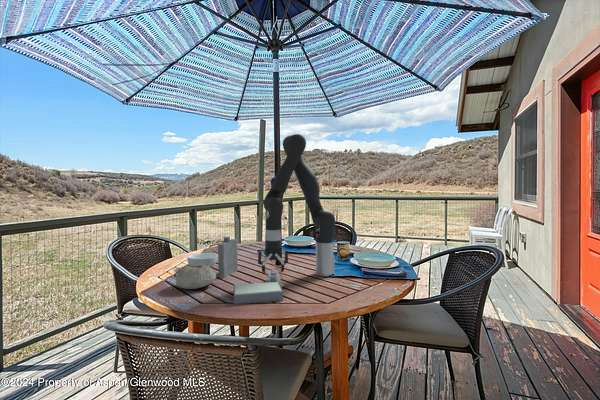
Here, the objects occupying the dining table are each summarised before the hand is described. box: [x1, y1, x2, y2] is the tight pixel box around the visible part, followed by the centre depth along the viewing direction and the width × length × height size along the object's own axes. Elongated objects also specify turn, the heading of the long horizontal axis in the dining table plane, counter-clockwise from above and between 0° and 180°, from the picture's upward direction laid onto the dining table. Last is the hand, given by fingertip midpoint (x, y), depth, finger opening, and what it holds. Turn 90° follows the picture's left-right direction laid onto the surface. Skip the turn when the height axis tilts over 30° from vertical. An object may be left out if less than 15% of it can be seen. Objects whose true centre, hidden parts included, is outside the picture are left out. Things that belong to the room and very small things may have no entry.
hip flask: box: [217, 236, 239, 279], centre depth 176 cm, size 16×4×20 cm, turn 161°
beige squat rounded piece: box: [175, 265, 217, 290], centre depth 156 cm, size 18×18×10 cm
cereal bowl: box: [187, 252, 218, 268], centre depth 190 cm, size 17×17×7 cm
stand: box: [233, 282, 284, 305], centre depth 142 cm, size 20×13×4 cm, turn 102°
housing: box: [265, 269, 284, 288], centre depth 159 cm, size 7×11×6 cm, turn 12°
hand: (273, 272), depth 159 cm, fingers open, 8 cm apart
